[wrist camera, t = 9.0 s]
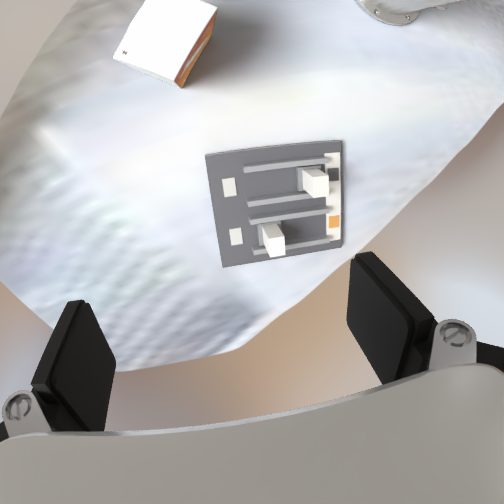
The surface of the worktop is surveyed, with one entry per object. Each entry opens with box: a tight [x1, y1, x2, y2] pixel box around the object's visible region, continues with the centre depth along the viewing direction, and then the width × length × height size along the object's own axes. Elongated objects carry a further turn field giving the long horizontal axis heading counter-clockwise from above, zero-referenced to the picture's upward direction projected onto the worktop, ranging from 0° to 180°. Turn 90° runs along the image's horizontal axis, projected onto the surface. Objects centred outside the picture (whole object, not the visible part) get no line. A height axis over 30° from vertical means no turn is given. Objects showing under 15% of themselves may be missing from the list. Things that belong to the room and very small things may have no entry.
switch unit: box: [205, 140, 342, 268], centre depth 43 cm, size 18×16×2 cm
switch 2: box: [296, 164, 329, 198], centre depth 39 cm, size 3×3×5 cm
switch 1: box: [257, 220, 286, 258], centre depth 42 cm, size 3×3×5 cm
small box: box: [113, 0, 218, 89], centre depth 27 cm, size 8×6×13 cm
